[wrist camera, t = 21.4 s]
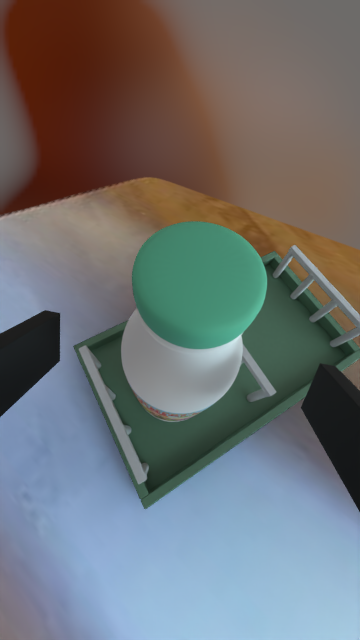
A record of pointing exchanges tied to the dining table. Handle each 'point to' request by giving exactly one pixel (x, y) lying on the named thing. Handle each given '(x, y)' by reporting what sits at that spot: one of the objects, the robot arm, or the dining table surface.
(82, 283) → the dining table surface
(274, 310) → the drying rack
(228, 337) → the milk bottle
